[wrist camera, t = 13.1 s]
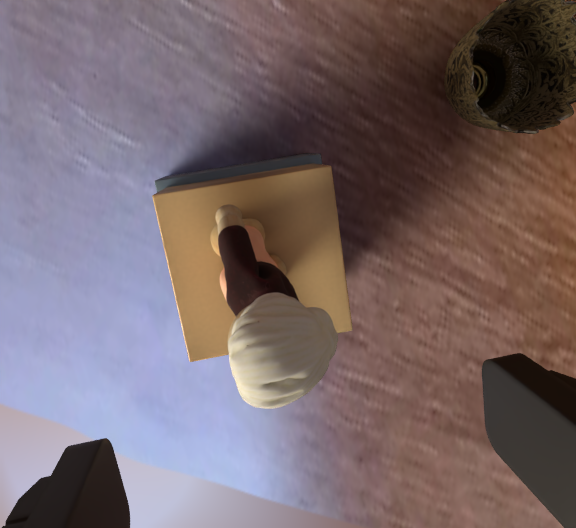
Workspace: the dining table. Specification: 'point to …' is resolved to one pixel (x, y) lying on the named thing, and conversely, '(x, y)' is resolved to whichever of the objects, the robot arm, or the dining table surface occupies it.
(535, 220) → the dining table surface
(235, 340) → the grandmother figurine
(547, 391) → the robot arm
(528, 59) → the cup
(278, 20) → the dining table surface
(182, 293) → the top block
